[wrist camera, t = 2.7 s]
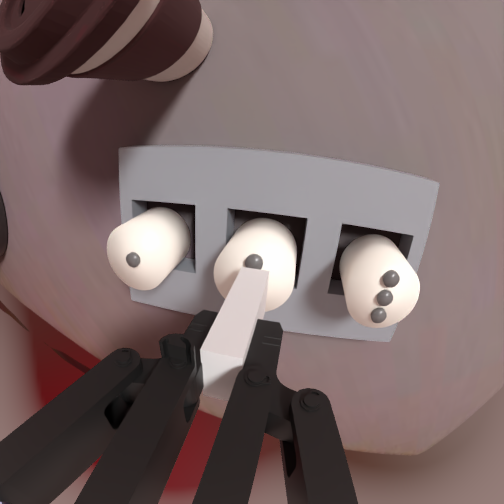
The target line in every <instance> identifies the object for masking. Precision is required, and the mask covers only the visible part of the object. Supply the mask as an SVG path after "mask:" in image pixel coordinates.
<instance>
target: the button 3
mask: <svg viewBox="0 0 504 504" xmlns="http://www.w3.org/2000/svg"><path fill="white" fill-rule="evenodd" d="M339 270H340V275H341V280H342V285H343V289H344V294H345V299H346V304H347V309H348V311H349V313H350V315H351V317H352V318H353V319H354V320H355V321H356V322H358V323H359V324H361V325H363V326H366V327H371V328H383V327H387V326H391V325H393V324H395V323H397V322H399V321H401V320H402V319H403V318H405V317H406V316H407V315H408V314H409V313H410V312H411V310H412V309H413V308H414V306H415V304H416V302H417V300H418V297H419V292H420V284H419V279H418V277H417V275H416V273H415V271H414V270H413V268H412V267H411V266H410V264H409V263H408V261H407V260H406V259H405V257H404V256H403V254H402V253H401V252H400V250H399V249H398V248H397V246H396V245H395V244H394V243H393V242H392V241H391V240H390V239H389V238H387V237H385V236H382V235H379V234H368V235H364V236H361V237H359V238H357V239H355V240H354V241H352V242H351V243H350V244H349V245H348V246H347V247H346V249H345V250H344V252H343V253H342V256H341V259H340V264H339Z"/></svg>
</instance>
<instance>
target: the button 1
mask: <svg viewBox="0 0 504 504" xmlns="http://www.w3.org/2000/svg"><path fill="white" fill-rule="evenodd" d="M190 245H191V235H190V231H189V228H188V226H187V224H186V222H185V221H184V219H183V218H182V217H181V216H180V215H179V214H178V213H177V212H175V211H174V210H172V209H170V208H167V207H154V208H151V209H149V210H147V211H145V212H144V213H142V214H140V215H138V216H136V217H134V218H133V219H131V220H129V221H127V222H126V223H124V224H122V225H120V226H119V227H117V228H116V229H114V230H113V231H112V233H111V234H110V236H109V238H108V242H107V255H108V260H109V263H110V265H111V267H112V269H113V271H114V272H115V274H116V275H117V276H118V277H119V278H120V279H121V280H122V281H123V282H124V283H125V284H127V285H128V286H130V287H132V288H134V289H138V290H151V289H154V288H156V287H157V286H158V285H159V284H160V283H161V282H162V281H163V280H164V279H165V278H166V277H167V276H168V274H169V273H170V272H171V271H172V270H173V269H174V268H175V267H176V266H177V265H178V264H179V263H180V261H181V260H182V259H183V258H184V257H185V256H186V255H187V253H188V251H189V249H190Z"/></svg>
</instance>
